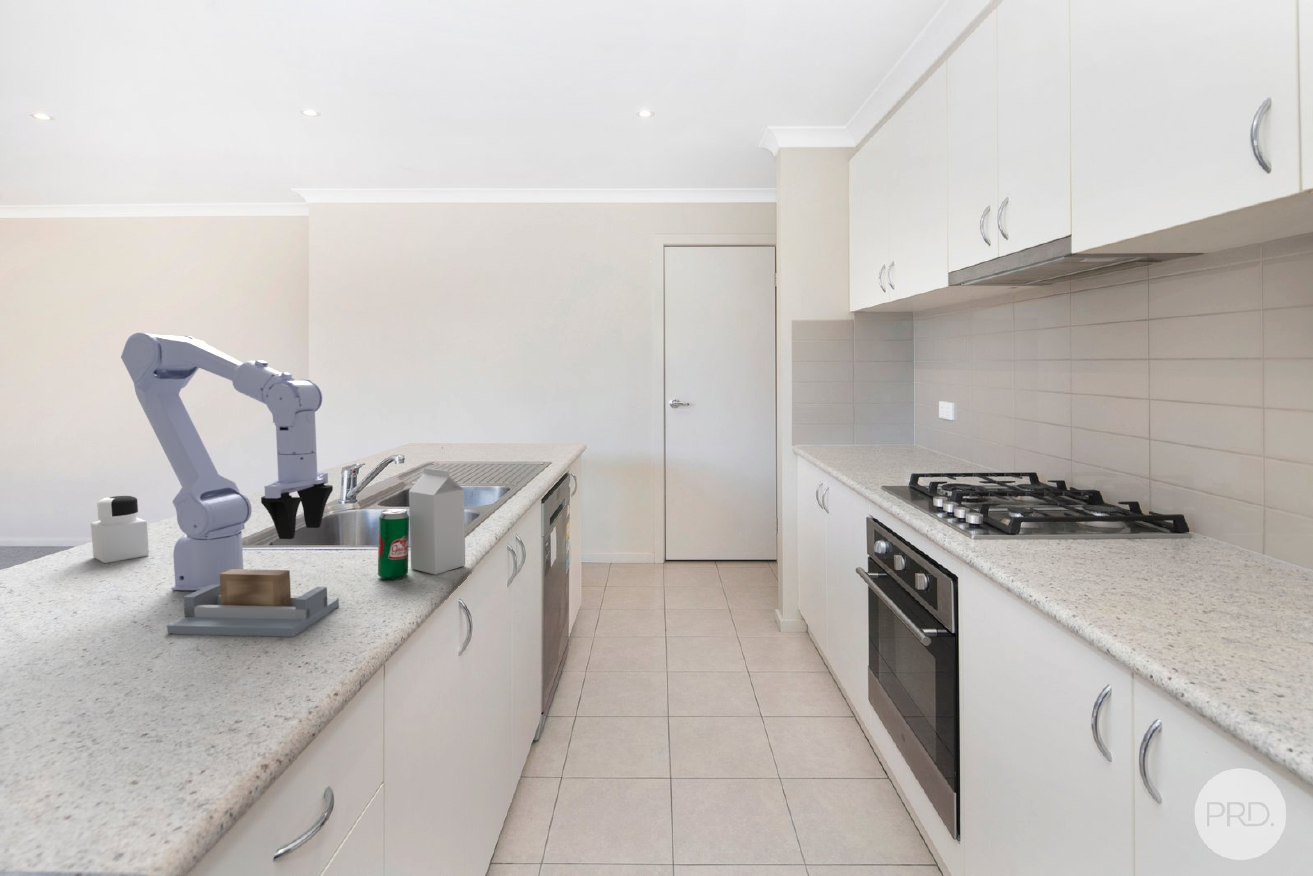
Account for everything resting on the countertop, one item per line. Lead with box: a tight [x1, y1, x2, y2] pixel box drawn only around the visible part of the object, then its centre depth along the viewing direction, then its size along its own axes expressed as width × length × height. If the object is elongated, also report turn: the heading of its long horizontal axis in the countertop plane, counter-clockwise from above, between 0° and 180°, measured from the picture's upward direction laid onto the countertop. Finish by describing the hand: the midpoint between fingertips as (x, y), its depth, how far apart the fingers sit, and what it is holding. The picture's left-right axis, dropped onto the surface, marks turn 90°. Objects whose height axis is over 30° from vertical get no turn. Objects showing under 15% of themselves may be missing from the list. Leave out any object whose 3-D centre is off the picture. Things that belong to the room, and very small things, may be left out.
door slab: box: [219, 568, 292, 607], centre depth 94 cm, size 9×2×6 cm, turn 88°
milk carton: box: [408, 467, 466, 575], centre depth 120 cm, size 7×7×19 cm
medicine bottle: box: [90, 495, 150, 564], centre depth 125 cm, size 7×7×12 cm
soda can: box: [377, 508, 410, 581], centre depth 114 cm, size 5×5×12 cm
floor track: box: [166, 584, 340, 638], centre depth 94 cm, size 18×12×4 cm, turn 88°
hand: (300, 532), depth 106 cm, fingers open, 7 cm apart
